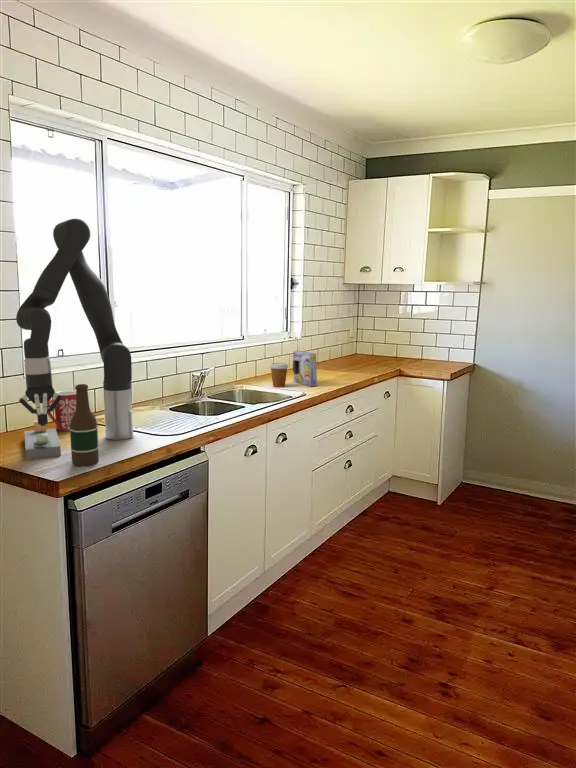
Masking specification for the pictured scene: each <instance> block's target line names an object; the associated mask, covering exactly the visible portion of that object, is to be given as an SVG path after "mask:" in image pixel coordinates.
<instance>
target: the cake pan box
mask: <svg viewBox="0 0 576 768" xmlns="http://www.w3.org/2000/svg"><path fill="white" fill-rule="evenodd" d="M292 372H293V383H296V384H300V385H303V386H307V387H317V385H318V381H317V379H318V378H317V377H318V375H317V353H314V352H310V351H304V350H293V351H292Z"/></svg>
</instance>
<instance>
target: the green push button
mask: <svg viewBox="0 0 576 768" xmlns="http://www.w3.org/2000/svg"><path fill="white" fill-rule="evenodd" d="M47 441H49V438H48V434H47V433H40V434H36V442H47Z"/></svg>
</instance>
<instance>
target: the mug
mask: <svg viewBox="0 0 576 768" xmlns="http://www.w3.org/2000/svg"><path fill="white" fill-rule="evenodd" d="M55 392H56V393H57V394H60V395H61V396H62V398H61V400H60V401H59V403H58V404H57V405H56V407H55V408H54V415H53V414H52V412H49V413H48V414H47V417H48V418H49V419H51V421H52V422H53V423H54V424H55V425H56V426H55V427H56V431H70V422H71V419H72V417H73V415H74V414H75V411H76V391H75V390H61V391H55ZM53 397H54V395H53V396H52V399H50V401H49V402H47V408H48V407H49V406H50V405H51V403H52V402H53V401H54V399H53ZM54 416H55V417H54Z"/></svg>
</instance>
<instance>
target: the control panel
mask: <svg viewBox="0 0 576 768" xmlns="http://www.w3.org/2000/svg"><path fill="white" fill-rule="evenodd" d="M40 433H47V434H48V438H49V441H48V443H44V444H37V443H36V434H40ZM24 445H25V446H24V447H25V460H31V459H30V458H33V459H41V458H40V457H43V458H49V457H51V456H52V457H61V456H62V455H61V454H62V453H61V452H62V450H61V449H62V448H61V443H60V439H59V437H58V432H57V428H46V431H40V432H35V429H34V430H33V429H31V430H24ZM60 455H61V456H60Z"/></svg>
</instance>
